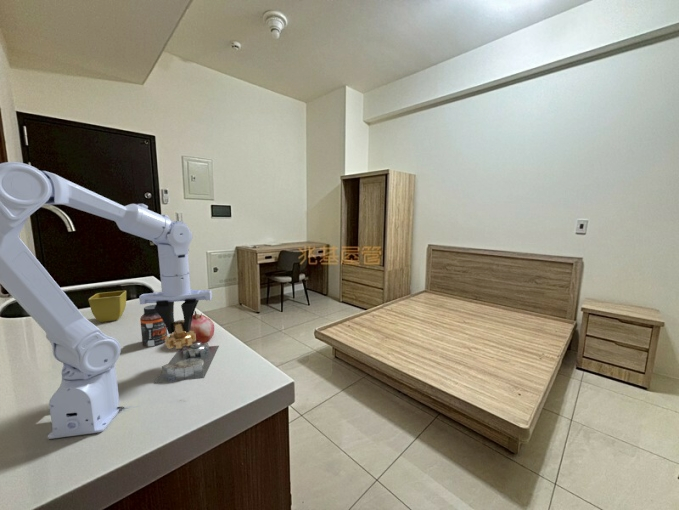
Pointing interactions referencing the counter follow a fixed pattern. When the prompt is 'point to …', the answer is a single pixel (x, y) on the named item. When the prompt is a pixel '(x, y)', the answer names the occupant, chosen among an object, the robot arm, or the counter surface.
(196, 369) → the ring gear segment
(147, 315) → the supplement bottle
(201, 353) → the sun gear
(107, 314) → the flower pot
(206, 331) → the fruit
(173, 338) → the planet gear
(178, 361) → the carrier plate
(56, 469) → the counter surface
